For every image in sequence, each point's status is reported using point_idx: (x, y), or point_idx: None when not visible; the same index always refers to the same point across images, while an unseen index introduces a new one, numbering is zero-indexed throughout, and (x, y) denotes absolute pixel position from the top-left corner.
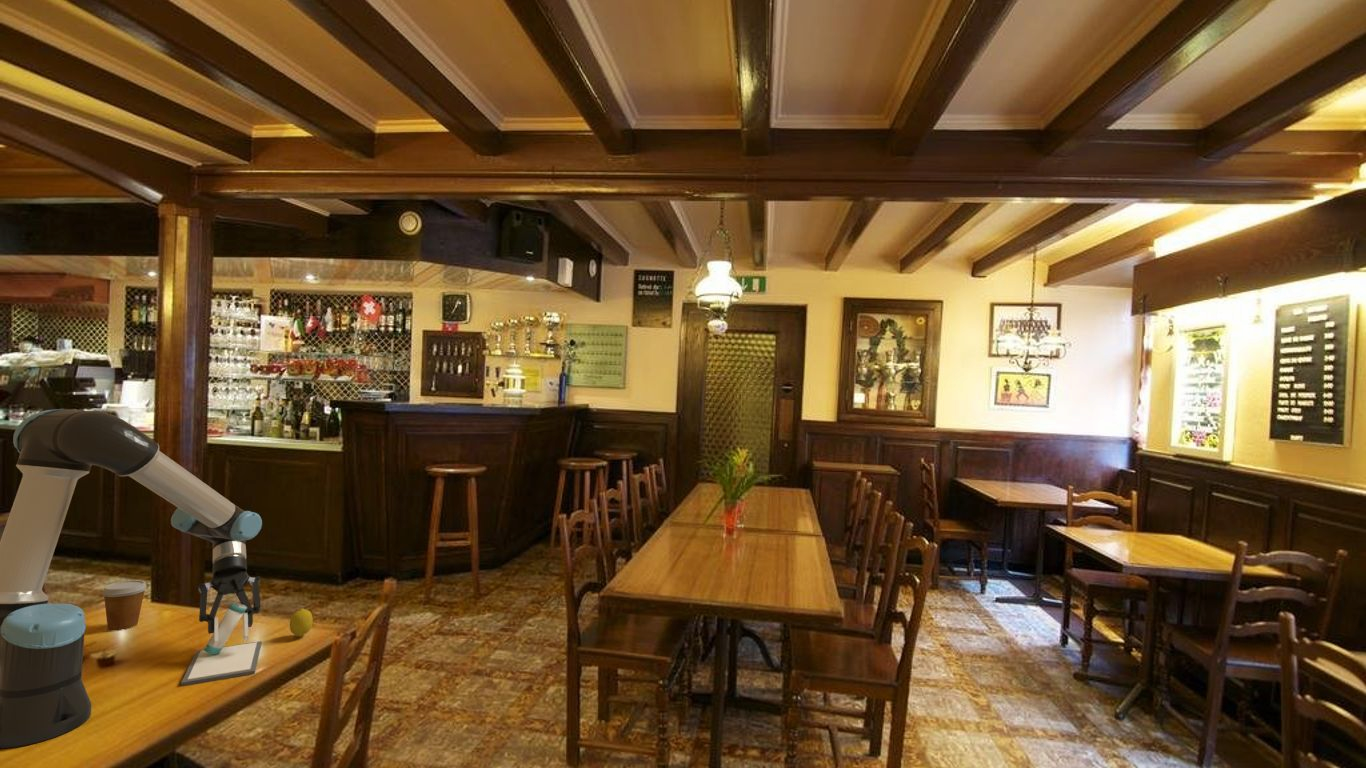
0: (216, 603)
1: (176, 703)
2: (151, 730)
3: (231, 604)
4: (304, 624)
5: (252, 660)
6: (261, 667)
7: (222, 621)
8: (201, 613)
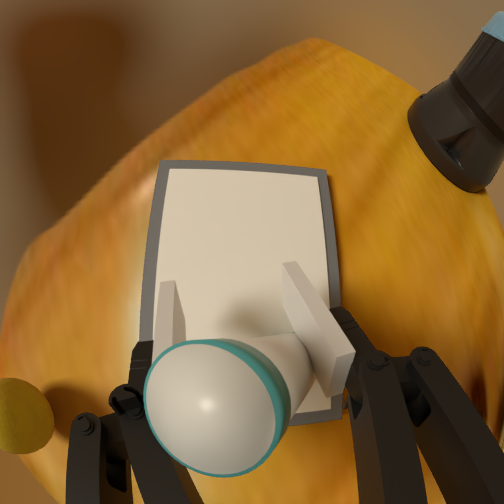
0: (398, 452)
1: (304, 105)
2: (309, 58)
3: (278, 400)
4: (3, 378)
5: (160, 238)
6: (141, 201)
7: (299, 359)
8: (437, 363)
